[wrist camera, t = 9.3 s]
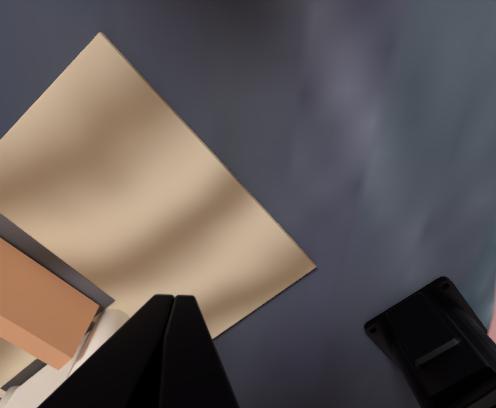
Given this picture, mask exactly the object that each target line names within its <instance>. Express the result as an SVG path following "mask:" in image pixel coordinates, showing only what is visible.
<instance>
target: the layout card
mask: <svg viewBox="0 0 496 408" xmlns="http://www.w3.org/2000/svg"><path fill="white" fill-rule="evenodd" d="M0 238H2V239H3V240H5V241H6V242H8V243H9V244H10V245H12V246H13V247H15V248H16V249H18V250H19V251H21V252H22V253H24V254H25V255H27V256H28V257H29V258H31V259H32V260H34V261H35V262H37V263H38V264H40V265H41V266H43V267H44V268H45V269H47V270H48V271H50V272H51V273H53V274H54V275H56V276H57V277H59V278H60V279H62V280H63V281H64V282H66V283H67V284H69V285H70V286H72V287H73V288H75V289H76V290H78V291H79V292H80V293H82V294H83V295H85V296H86V297H88V298H89V299H91V300H92V301H94V302H95V303H97V304H98V305H99V308H98V310H97V312H96V314H95V316H94V317H93V319H92V321H91V323H90V325H89V327H88V329H87V331H86V333H85V334H87V333H88V332H89V331H92V329H93V327H94V325H95V323H96V321H97V319H98V317H99V315H100V313H101V312H102V311H104V310H106V309H112V308H113V309H119V310H122V311H123V312H125V313H126V314H127V315H128V316H129V318H130V317H131V316H133V315H134V314H135V313H136V312H137V311H138V310H139V309H140V308H141V307H142V306H143V305H144V304H145V303H146V302H147V301H148V300H149V299H150V298H151V297H152V296H153V295H155V294H172V295H174V297H175V296H176V295H193V296H195V298H196V300H197V302H198V305H199V307H200V310H201V312H202V315H203V317H204V320H205V322H206V325H207V327H208V330H209V332H210V335H211V337H212V339H213V338H215V337H216V336H218V335H219V334H221V333H222V332H223V331H225V330H226V329H228V328H229V327H231V326H232V325H234V324H235V323H236V322H238V321H239V320H241V319H242V318H244V317H245V316H247V315H248V314H249V313H251V312H252V311H254V310H255V309H257V308H258V307H260V306H261V305H262V304H264V303H265V302H267V301H268V300H270V299H271V298H273V297H274V296H275V295H277V294H278V293H280V292H281V291H283V290H284V289H286V288H287V287H288V286H290V285H291V284H293V283H294V282H296V281H297V280H299V279H300V278H301V277H303V276H304V275H306V274H307V273H309V272H310V271H312V270H313V269H314V268H316V265H315V263H314V262H313V261H312V260H311V259H310V257H309V256H308V255H307V254H306V253H305V252H304V251H303V250H302V249H301V248H300V247H299V246H298V244H297V243H296V242H295V241H294V240H293V239H292V238H291V237H290V236H289V235H288V234H287V233H286V231H285V230H284V229H283V228H282V227H281V226H280V225H279V224H278V223H277V222H276V221H275V219H274V218H273V217H272V216H271V215H270V214H269V213H268V212H267V211H266V210H265V209H264V208H263V206H262V205H261V204H260V203H259V202H258V201H257V200H256V199H255V198H254V197H253V196H252V195H251V193H250V192H249V191H248V190H247V189H246V188H245V187H244V186H243V185H242V184H241V183H240V181H239V180H238V179H237V178H236V177H235V176H234V175H233V174H232V173H231V172H230V171H229V170H228V168H227V167H226V166H225V165H224V164H223V163H222V162H221V161H220V160H219V159H218V158H217V157H216V155H215V154H214V153H213V152H212V151H211V150H210V149H209V148H208V147H207V146H206V145H205V143H204V142H203V141H202V140H201V139H200V138H199V137H198V136H197V135H196V134H195V133H194V132H193V130H192V129H191V128H190V127H189V126H188V125H187V124H186V123H185V122H184V121H183V120H182V119H181V117H180V116H179V115H178V114H177V113H176V112H175V111H174V110H173V109H172V108H171V107H170V105H169V104H168V103H167V102H166V101H165V100H164V99H163V98H162V97H161V96H160V95H159V94H158V92H157V91H156V90H155V89H154V88H153V87H152V86H151V85H150V84H149V83H148V82H147V81H146V79H145V78H144V77H143V76H142V75H141V74H140V73H139V72H138V71H137V70H136V69H135V67H134V66H133V65H132V64H131V63H130V62H129V61H128V60H127V59H126V58H125V57H124V56H123V54H122V53H121V52H120V51H119V50H118V49H117V48H116V47H115V46H114V45H113V44H112V43H111V41H110V40H109V39H108V38H107V37H106V36H105V35H104V34H103V33H100V32H99V33H98V35H97V36H96V37H95V38H94V39H93V40H92V41H91V42H90V43H89V44H88V45H87V47H86V48H85V49H84V50H83V51H82V52H81V53H80V54H79V55H78V56H77V57H76V58H75V60H74V61H73V62H72V63H71V64H70V65H69V66H68V67H67V68H66V69H65V70H64V71H63V73H62V74H61V75H60V76H59V77H58V78H57V79H56V80H55V81H54V82H53V83H52V85H51V86H50V87H49V88H48V89H47V90H46V91H45V92H44V93H43V94H42V95H41V96H40V98H39V99H38V100H37V101H36V102H35V103H34V104H33V105H32V106H31V107H30V108H29V109H28V111H27V112H26V113H25V114H24V115H23V116H22V117H21V118H20V119H19V120H18V121H17V123H16V124H15V125H14V126H13V127H12V128H11V129H10V130H9V131H8V132H7V133H6V134H5V136H4V137H3V138H2V139H1V140H0ZM46 365H47V364H46V363H44V362H43V361H41V360H39V359H38V358H36V357H34V356H32V355H31V354H29V353H27V352H25V351H24V350H22V349H20V348H19V347H17V346H15V345H13V344H12V343H10V342H8V341H7V340H5V339H3V338H1V337H0V397H1V398H2V397H3V396H4V394H5V393H6V391H7V390H8V389H9V388H10V387H12V386H21V385H22V384H23V383H25V382H26V381H27V380H28V379H30V378H31V377H32V376H33V375H35V374H36V373H37V372H38V371H40V370H41V369H42V368H44V367H45V366H46Z"/></svg>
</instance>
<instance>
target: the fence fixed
mask: <svg viewBox="0 0 496 408" xmlns="http://www.w3.org/2000/svg"><path fill="white" fill-rule="evenodd" d="M128 319H129V316H128V315H127V314H126V313H125V312H123V311H122V310H119V309H113V308H112V309H106V310H104V311H102V312H101V313H100V315H99V317H98V319H97V321H96V323H95V325H94V327H93V329H92V331H89V332H88V333H87V334H85V335H84V337H83V339H82V341H81V343H80V345H79V346H78V348H77V350H76V352H75V354H74V356H73V358H72V359H71V360H70V361H69V362H68V363H66V364H65V365H64V366H63V367H62V368H61V369H59V370H57V369H55V368H53V367H51V366H50V365H48V364H47V365H46V366H45V367H44V368H42V369H41V370H40V371H38V372H37V373H36V374H35V375H33V376H32V377H31V378H30V379H28V380H27V381H26V382H25V383H23V384H22V385H21V386H12V387H10V388H9V389H8V390H7V391H6V393H5V394H4V396H3V397H2V399H1V400H0V408H37V407H38V406H39V405H40V404H41V403H42V402H43V401H44V400H45V399H46V398H47V397H48V396H49V395H50V394H51V393H53V392H54V391H55V390H56V389H57V388H58V387H59V386H60V385H61V384H62V383H63V382H64V381H65V380H66V379H67V378H68V377H69V376H70V375H71V374H72V373H73V372H74V371H75V370H76V369H77V368H79V367H80V366H81V365H82V364H83V363H84V362H85V361H86V360H87V359H88V358H89V357H90V356H91V355H92V354H93V353H94V352H95V351H96V350H97V349H98V348H99V347H100V346H101V345H102V344H103V343H104V342H106V341H107V340H108V339H109V338H110V337H111V336H112V335H113V334H114V333H115V332H116V331H117V330H118V329H119V328H120V327H121V326H122V325H123V324H124V323H125V322H126V321H127V320H128Z"/></svg>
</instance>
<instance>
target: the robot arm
mask: <svg viewBox="0 0 496 408" xmlns="http://www.w3.org/2000/svg"><path fill="white" fill-rule="evenodd" d="M443 284H444V285H443ZM442 285H443V286H442ZM371 328H373V329H371ZM364 329H365V331H366V333H367V335H368V336H369V337H370V338H371V339H372V340H373V341H374V342H375V343H376V344H377V345H378V346H379V347H380V349H381V350H382V351H383V352H384V353H385V354H386V355H387V356H388V357H389V358H390V359H391V360H392V361H393V362H394V363H395V364H396V365H397V367H398V368H399V369H400V370H401V372H402V374H403V376H404V377H405V379H406V381H407V383H408V385H409V387H410V389H411V390H412V392H413V394H414V396H415V398H416V400H417V402H418V403H419V405H420V407H421V408H496V344H495V343H494V342H493V341H492V339H491V338H490V337H489V336H488V335H487V329H486V328H485V327H484V325H483V324H482V323H481V321H480V320H479V318H478V317H477V316H476V314H475V313H474V311H473V310H472V309H471V307H470V306H469V305H468V303H467V302H466V300H465V299H464V298H463V296H462V295H461V294H460V292H459V291H458V289H457V288H456V287H455V285H454V284H453V282H452V281H451V280H450V279H449V278H447V277H445V276H444V277H440V278H438V279H436V280H435V281H433V282H431V283H430V284H428V285H426V286H425V287H423V288H422V289H420V290H418V291H417V292H415V293H414V294H412V295H410V296H409V297H407V298H406V299H404V300H402V301H401V302H399V303H397V304H396V305H394V306H393V307H391V308H389V309H388V310H386V311H385V312H383V313H381V314H380V315H378V316H376V317H375V318H373V319H372V320H370V321H368V322H367V323H366V324H365V325H364ZM37 408H240V407H239V404H238V402H237V399H236V397H235V394H234V392H233V389H232V387H231V385H230V382H229V380H228V377H227V375H226V372H225V370H224V367H223V365H222V362H221V360H220V357H219V355H218V352H217V350H216V347H215V345H214V342H213V340H212V337H211V335H210V332H209V330H208V327H207V325H206V322H205V320H204V317H203V315H202V312H201V310H200V307H199V305H198V302H197V300H196V298H195V296H193V295H176V296H175V297H174V295H172V294H155V295H153V296H152V297H151V298H150V299H149V300H148V301H147V302H146V303H145V304H144V305H143V306H142V307H141V308H140V309H139V310H138V311H137V312H136V313H135V314H134V315H133V316H131V317H130V318H129V319H128V320H127V321H126V322H125V323H124V324H123V325H122V326H121V327H120V328H119V329H118V330H117V331H116V332H115V333H114V334H113V335H112V336H111V337H110V338H109V339H108V340H107V341H106V342H104V343H103V344H102V345H101V346H100V347H99V348H98V349H97V350H96V351H95V352H94V353H93V354H92V355H91V356H90V357H89V358H88V359H87V360H86V361H85V362H84V363H83V364H82V365H81V366H80V367H79V368H77V369H76V370H75V371H74V372H73V373H72V374H71V375H70V376H69V377H68V378H67V379H66V380H65V381H64V382H63V383H62V384H61V385H60V386H59V387H58V388H57V389H56V390H55V391H54V392H53V393H51V394H50V395H49V396H48V397H47V398H46V399H45V400H44V401H43V402H42V403H41V404H40V405H39V406H38V407H37Z"/></svg>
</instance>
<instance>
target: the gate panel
mask: <svg viewBox="0 0 496 408" xmlns="http://www.w3.org/2000/svg"><path fill="white" fill-rule="evenodd" d="M98 308H99V305H98V304H97V303H95V302H94V301H92V300H91V299H89V298H88V297H86V296H85V295H83V294H82V293H80V292H79V291H78V290H76V289H75V288H73V287H72V286H70V285H69V284H67V283H66V282H64V281H63V280H62V279H60V278H59V277H57V276H56V275H54V274H53V273H51V272H50V271H48V270H47V269H45V268H44V267H43V266H41V265H40V264H38V263H37V262H35V261H34V260H32V259H31V258H29V257H28V256H27V255H25V254H24V253H22V252H21V251H19V250H18V249H16V248H15V247H13V246H12V245H10V244H9V243H8V242H6V241H5V240H3V239H2V238H0V337H1V338H3V339H5V340H7V341H8V342H10V343H12V344H13V345H15V346H17V347H19V348H20V349H22V350H24V351H25V352H27V353H29V354H31V355H32V356H34V357H36V358H38V359H39V360H41V361H43V362H44V363H46V364H48V365H50V366H51V367H53V368H55V369H57V370H59V369H61V368H62V367H63V366H64V365H65V364H66V363H68V362H69V361H70V360H71V359H72V358H73V356H74V354H75V352H76V350H77V348H78V346H79V345H80V343H81V341H82V339H83V337H84V335H85V333H86V331H87V329H88V327H89V325H90V323H91V321H92V319H93V317H94V316H95V314H96V312H97V310H98Z"/></svg>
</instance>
